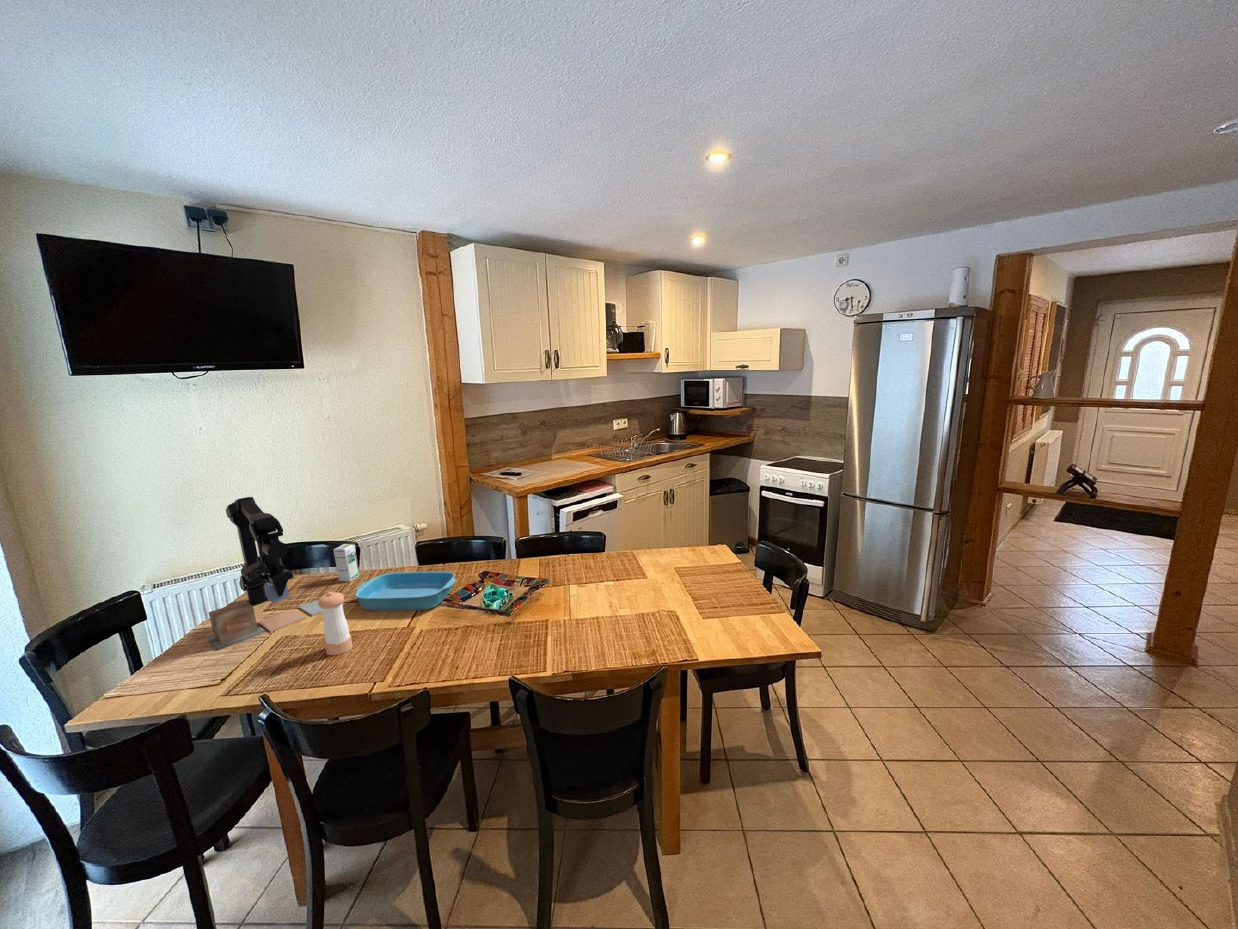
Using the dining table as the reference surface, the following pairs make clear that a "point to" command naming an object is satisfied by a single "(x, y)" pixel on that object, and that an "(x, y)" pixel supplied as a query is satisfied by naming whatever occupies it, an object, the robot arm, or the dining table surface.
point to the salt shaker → (335, 624)
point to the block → (275, 593)
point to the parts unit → (233, 624)
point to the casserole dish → (405, 591)
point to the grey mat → (312, 608)
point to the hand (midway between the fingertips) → (277, 594)
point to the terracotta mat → (282, 620)
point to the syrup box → (346, 562)
